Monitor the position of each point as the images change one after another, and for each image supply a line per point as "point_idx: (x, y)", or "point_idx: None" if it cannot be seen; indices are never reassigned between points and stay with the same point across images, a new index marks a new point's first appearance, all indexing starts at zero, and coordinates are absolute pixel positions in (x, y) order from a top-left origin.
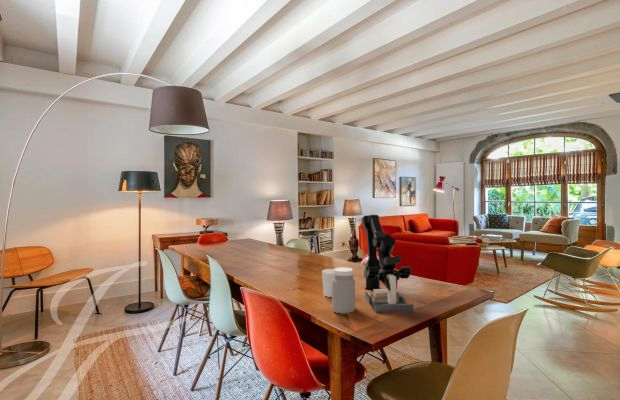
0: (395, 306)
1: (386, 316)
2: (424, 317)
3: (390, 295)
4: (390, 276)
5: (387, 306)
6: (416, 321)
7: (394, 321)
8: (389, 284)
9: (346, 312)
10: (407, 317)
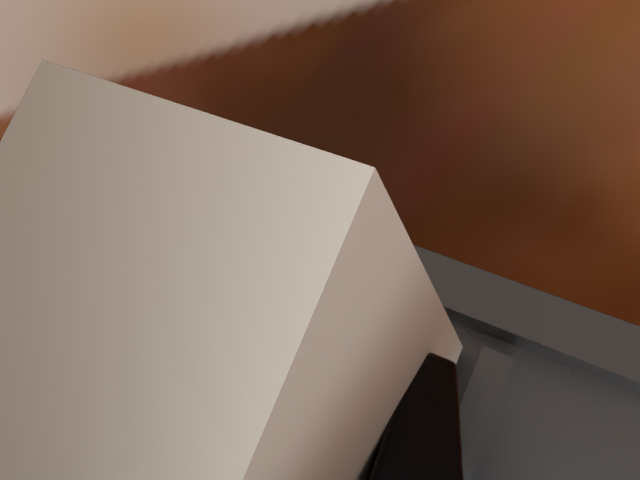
0: (431, 254)
1: (610, 278)
2: (194, 81)
3: (443, 355)
4: (290, 323)
5: (571, 308)
6: (356, 15)
7: (613, 92)
8: (362, 468)
9: None
10: (362, 144)
